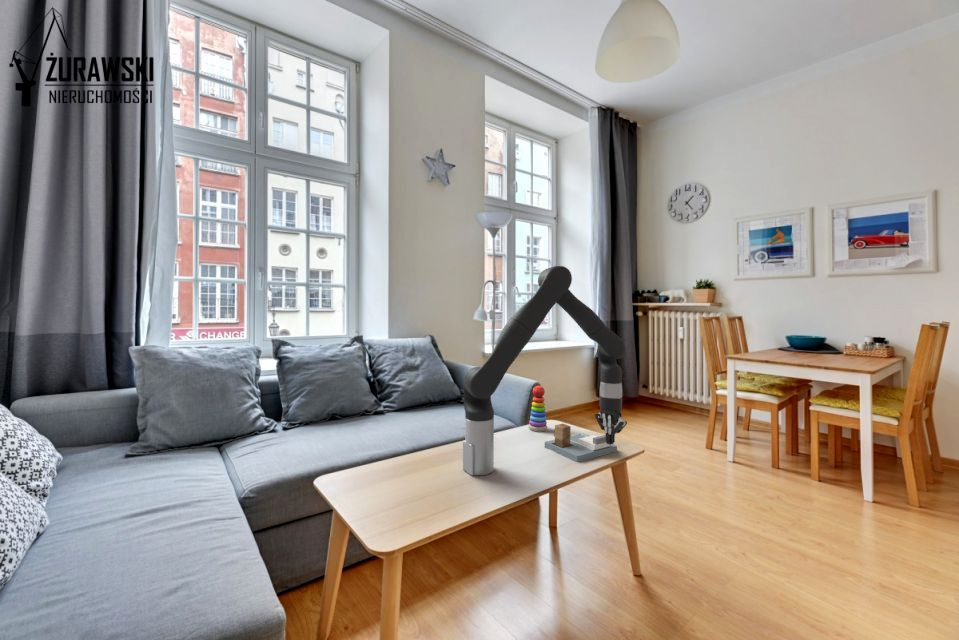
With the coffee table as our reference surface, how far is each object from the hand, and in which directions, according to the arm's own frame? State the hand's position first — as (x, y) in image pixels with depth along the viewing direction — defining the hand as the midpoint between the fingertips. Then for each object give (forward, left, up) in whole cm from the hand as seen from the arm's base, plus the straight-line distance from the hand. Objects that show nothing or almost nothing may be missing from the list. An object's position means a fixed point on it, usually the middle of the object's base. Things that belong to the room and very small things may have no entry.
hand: (610, 443), depth 144 cm
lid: (0, +7, -3) cm, 8 cm away
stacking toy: (-1, +38, -5) cm, 39 cm away
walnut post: (-9, +14, -5) cm, 18 cm away
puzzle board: (-3, +11, -5) cm, 13 cm away
